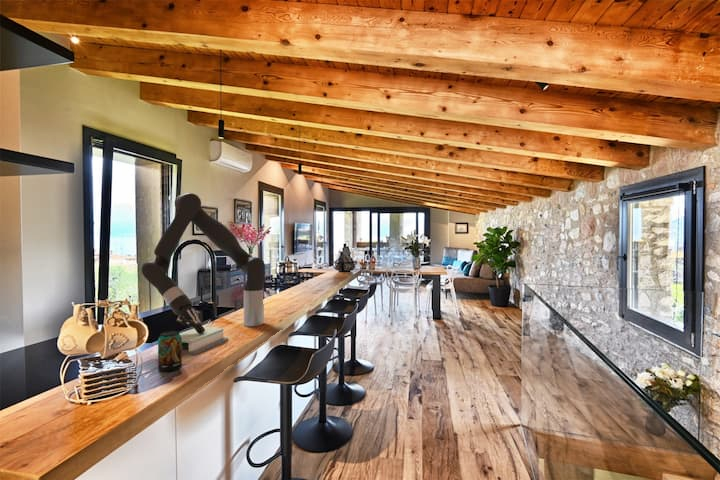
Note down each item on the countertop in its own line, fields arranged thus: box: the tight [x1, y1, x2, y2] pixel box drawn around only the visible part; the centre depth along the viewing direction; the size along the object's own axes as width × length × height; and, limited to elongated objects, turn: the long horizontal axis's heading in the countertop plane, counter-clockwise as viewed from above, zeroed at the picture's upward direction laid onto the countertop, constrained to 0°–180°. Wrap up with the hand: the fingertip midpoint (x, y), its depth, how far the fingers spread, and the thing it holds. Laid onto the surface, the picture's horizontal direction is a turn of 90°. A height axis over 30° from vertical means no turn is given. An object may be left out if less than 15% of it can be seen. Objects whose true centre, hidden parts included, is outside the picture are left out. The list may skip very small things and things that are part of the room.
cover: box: [179, 326, 224, 343], centre depth 152 cm, size 19×12×1 cm, turn 163°
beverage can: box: [157, 330, 183, 373], centre depth 126 cm, size 7×7×12 cm
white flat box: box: [182, 330, 229, 356], centre depth 152 cm, size 20×16×4 cm
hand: (202, 332), depth 151 cm, fingers closed
